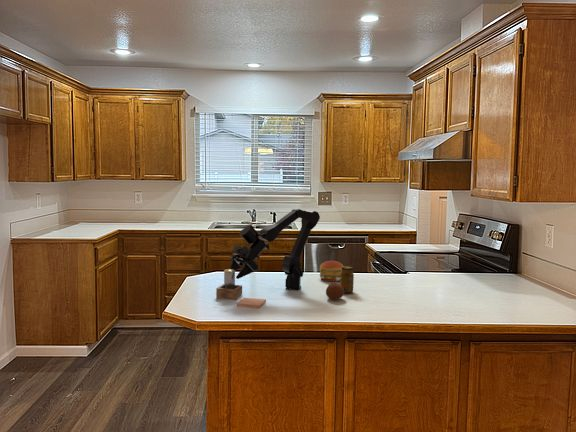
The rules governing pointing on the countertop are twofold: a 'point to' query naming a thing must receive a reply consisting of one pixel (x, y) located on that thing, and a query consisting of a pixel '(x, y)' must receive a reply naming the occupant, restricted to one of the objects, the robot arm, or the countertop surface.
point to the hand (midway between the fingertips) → (232, 276)
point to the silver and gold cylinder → (229, 279)
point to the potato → (334, 291)
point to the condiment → (347, 280)
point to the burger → (331, 271)
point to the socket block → (229, 292)
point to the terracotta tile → (251, 302)
